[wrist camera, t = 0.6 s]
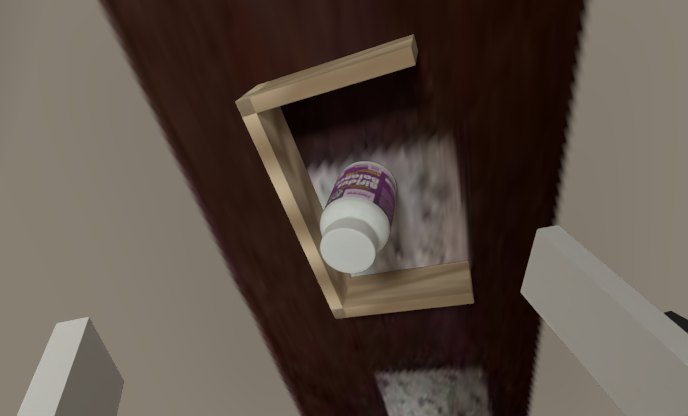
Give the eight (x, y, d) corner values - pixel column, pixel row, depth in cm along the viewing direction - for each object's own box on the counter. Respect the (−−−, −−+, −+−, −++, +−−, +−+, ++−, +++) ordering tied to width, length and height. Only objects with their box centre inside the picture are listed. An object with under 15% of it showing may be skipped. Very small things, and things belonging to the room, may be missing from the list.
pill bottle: (381, 149, 35) (365, 209, 27) (406, 200, 37) (399, 270, 29) (326, 171, 37) (296, 233, 29) (353, 218, 39) (332, 288, 31)
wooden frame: (256, 85, 34) (235, 101, 30) (413, 34, 30) (410, 46, 26) (343, 287, 44) (335, 318, 40) (470, 270, 40) (474, 303, 36)
